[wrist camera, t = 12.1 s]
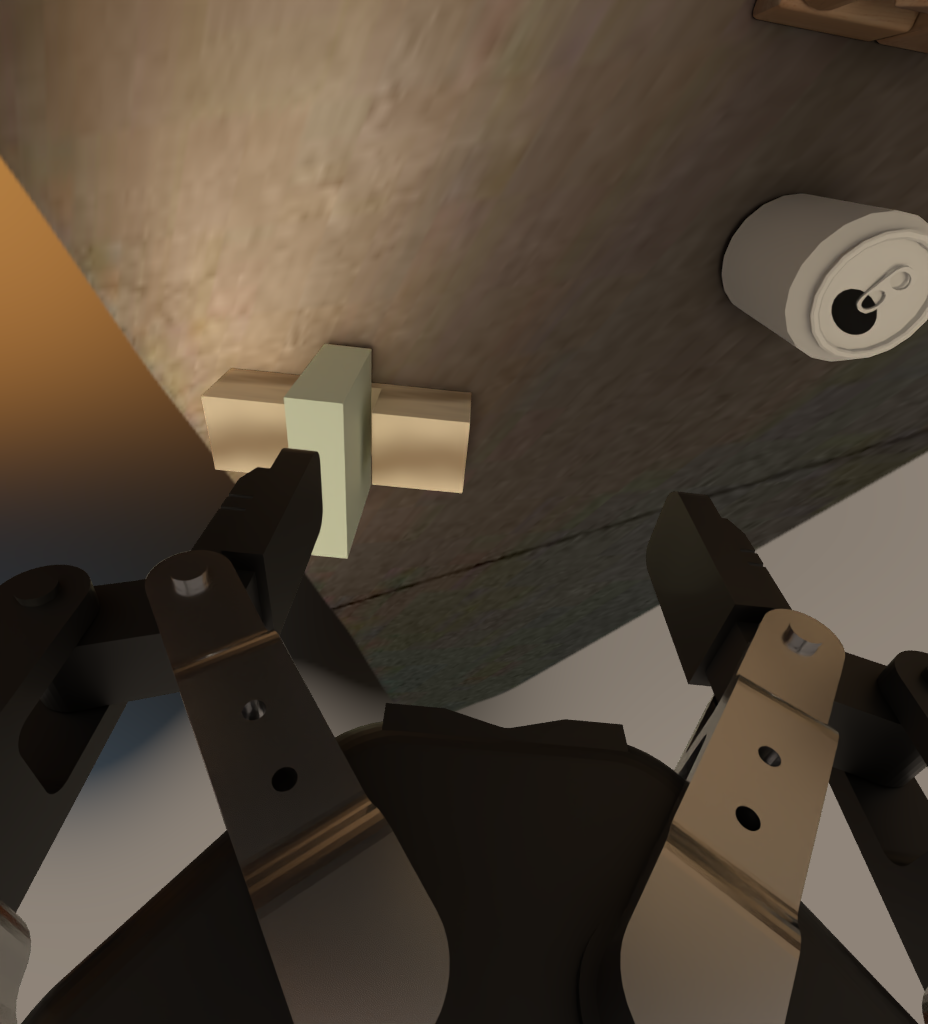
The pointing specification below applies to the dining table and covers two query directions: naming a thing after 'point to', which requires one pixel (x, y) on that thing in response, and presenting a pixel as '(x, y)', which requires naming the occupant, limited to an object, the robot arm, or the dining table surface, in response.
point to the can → (831, 274)
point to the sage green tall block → (335, 437)
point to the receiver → (394, 429)
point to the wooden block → (855, 19)
